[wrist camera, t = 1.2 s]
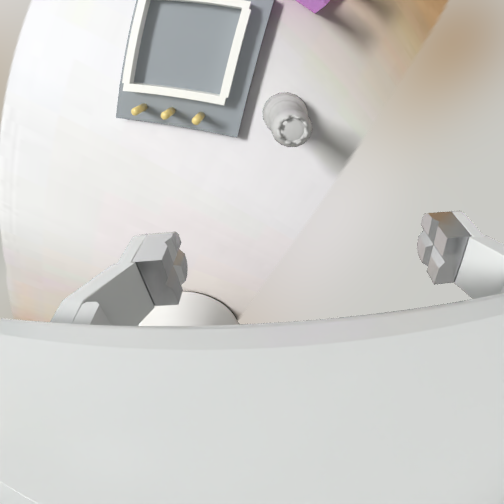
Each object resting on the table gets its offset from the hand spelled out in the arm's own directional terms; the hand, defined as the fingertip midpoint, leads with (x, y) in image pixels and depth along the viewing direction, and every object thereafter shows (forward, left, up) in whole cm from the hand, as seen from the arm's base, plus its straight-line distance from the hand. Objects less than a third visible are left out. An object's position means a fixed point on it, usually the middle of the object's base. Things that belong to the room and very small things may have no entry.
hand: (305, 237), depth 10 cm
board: (+4, +9, -23) cm, 25 cm away
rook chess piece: (0, -1, -24) cm, 24 cm away
